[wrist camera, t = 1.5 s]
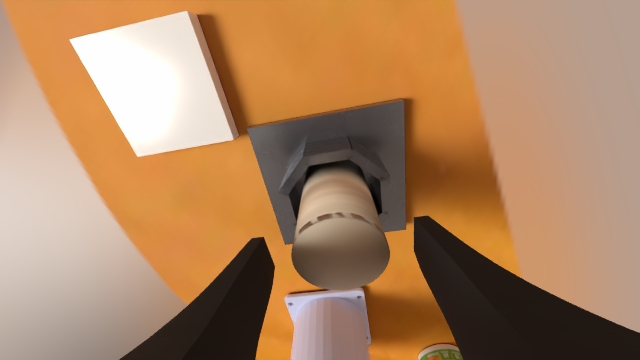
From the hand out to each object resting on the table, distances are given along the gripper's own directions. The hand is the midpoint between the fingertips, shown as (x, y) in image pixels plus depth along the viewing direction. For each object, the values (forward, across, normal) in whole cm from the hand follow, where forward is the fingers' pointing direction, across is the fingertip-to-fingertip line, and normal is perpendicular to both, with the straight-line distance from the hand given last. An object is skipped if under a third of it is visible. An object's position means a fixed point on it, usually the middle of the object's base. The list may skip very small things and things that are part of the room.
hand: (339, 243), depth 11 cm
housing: (+7, 0, 0) cm, 7 cm away
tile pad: (+7, +10, -8) cm, 14 cm away
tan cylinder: (+6, 0, 0) cm, 6 cm away
